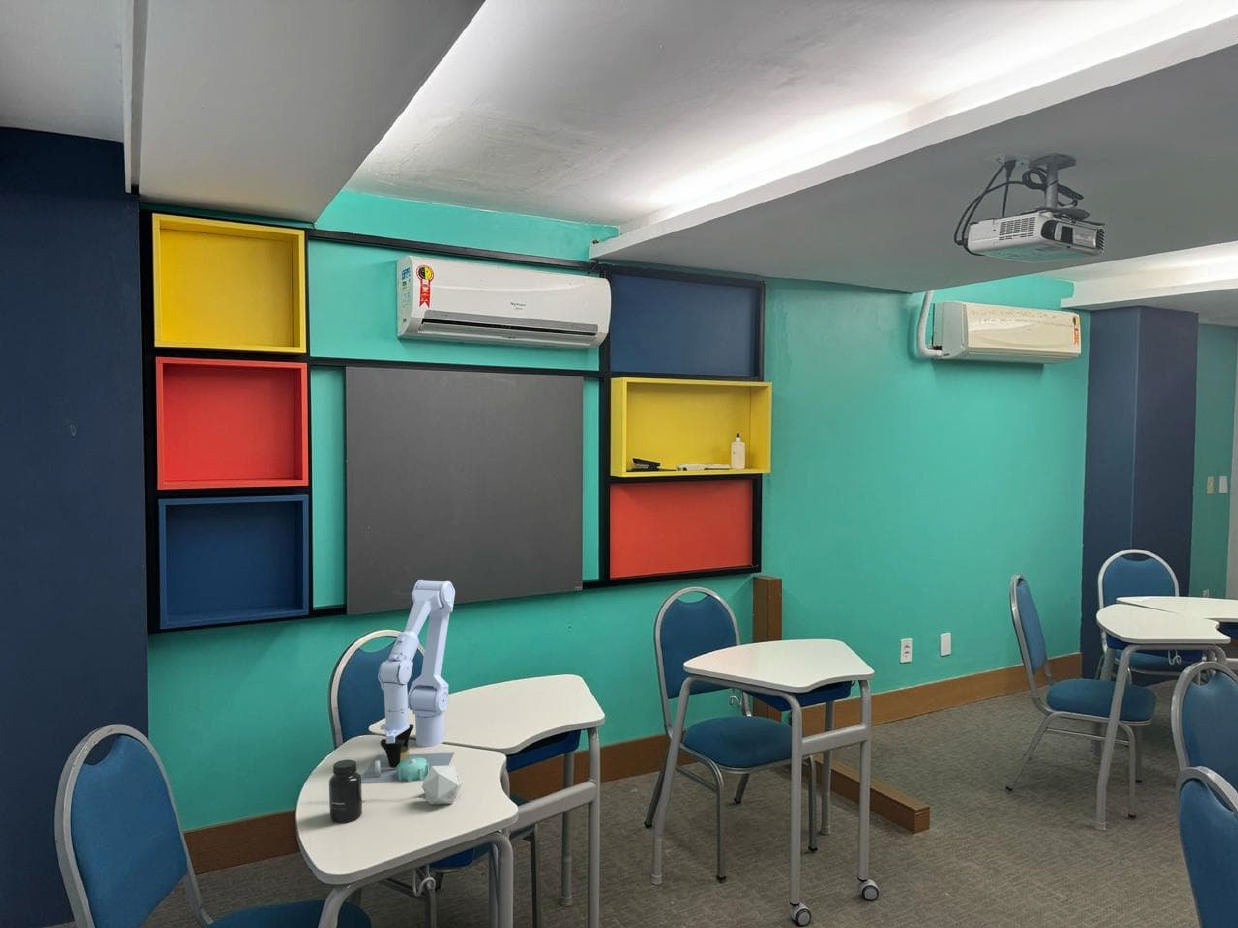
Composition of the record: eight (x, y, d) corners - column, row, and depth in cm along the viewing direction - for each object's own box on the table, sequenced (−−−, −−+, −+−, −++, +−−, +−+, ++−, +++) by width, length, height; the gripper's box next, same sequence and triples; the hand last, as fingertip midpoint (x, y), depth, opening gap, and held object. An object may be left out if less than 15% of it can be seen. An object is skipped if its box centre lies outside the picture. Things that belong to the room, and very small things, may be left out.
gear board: (377, 758, 215) (376, 740, 215) (454, 756, 216) (453, 737, 216) (357, 787, 198) (356, 767, 198) (441, 784, 199) (440, 764, 198)
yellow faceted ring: (391, 759, 212) (390, 746, 212) (410, 758, 213) (410, 746, 212) (386, 767, 207) (385, 754, 207) (406, 766, 208) (405, 753, 207)
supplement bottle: (331, 826, 179) (328, 771, 178) (328, 813, 185) (326, 760, 185) (364, 819, 182) (362, 765, 181) (360, 807, 188) (358, 754, 187)
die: (442, 816, 184) (466, 775, 186) (410, 795, 185) (434, 755, 188) (449, 813, 192) (472, 774, 194) (418, 793, 193) (441, 754, 196)
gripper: (387, 698, 217) (390, 750, 217) (372, 718, 202) (374, 773, 203) (415, 697, 217) (417, 749, 217) (401, 717, 202) (403, 772, 203)
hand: (398, 760), depth 210 cm, fingers open, 7 cm apart
